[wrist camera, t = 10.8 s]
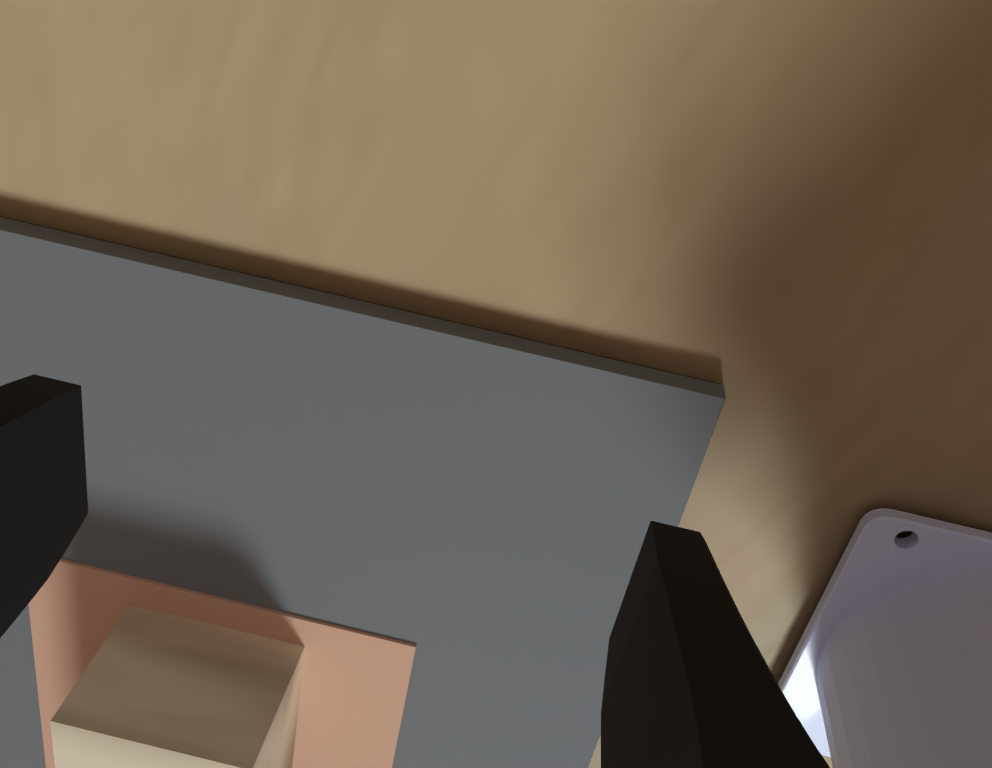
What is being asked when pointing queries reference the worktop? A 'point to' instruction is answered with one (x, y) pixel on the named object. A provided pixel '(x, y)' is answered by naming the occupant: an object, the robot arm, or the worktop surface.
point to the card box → (181, 698)
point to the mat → (342, 501)
